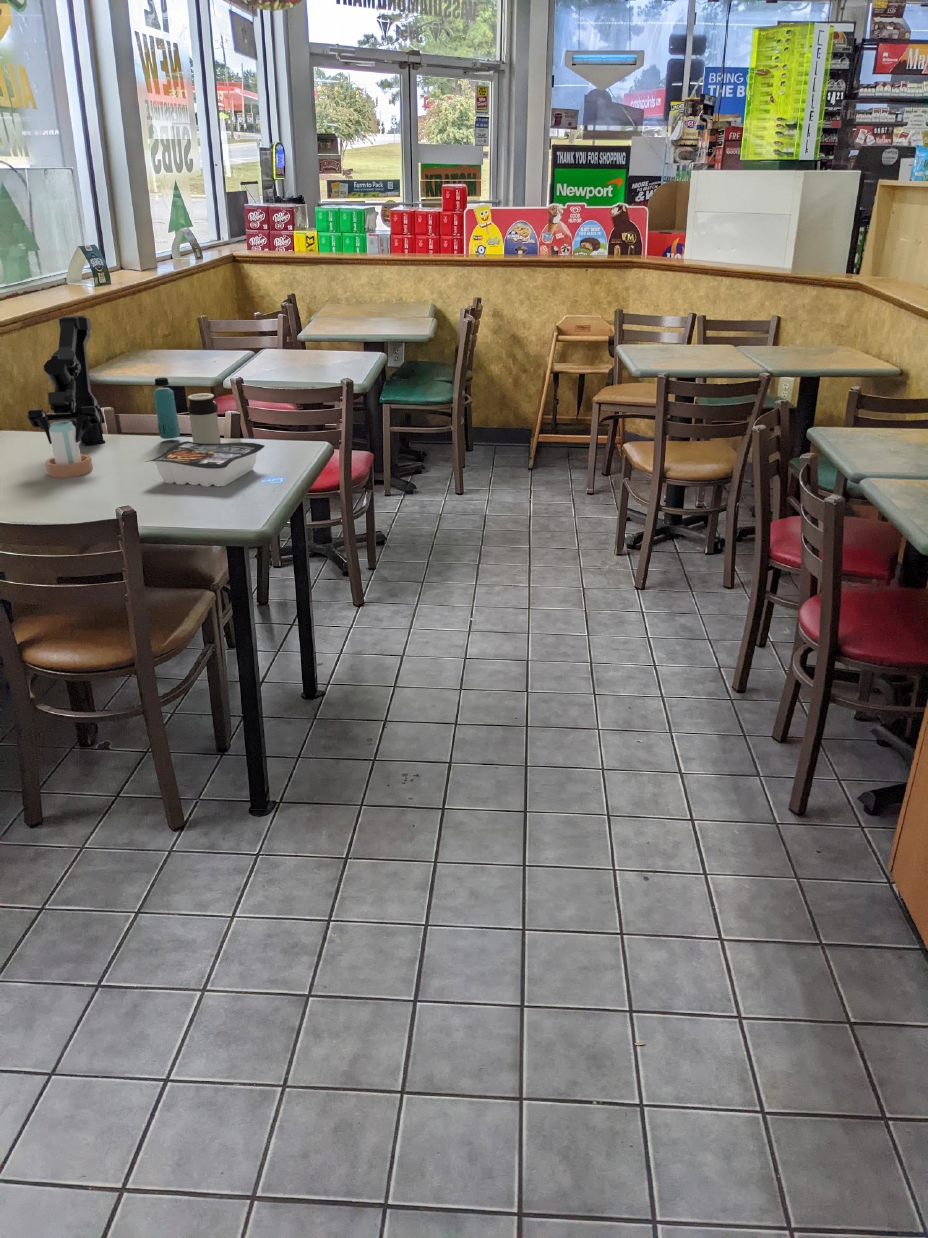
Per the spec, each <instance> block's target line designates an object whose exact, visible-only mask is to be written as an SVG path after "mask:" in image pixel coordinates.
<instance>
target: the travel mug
mask: <svg viewBox="0 0 928 1238" xmlns="http://www.w3.org/2000/svg"><path fill="white" fill-rule="evenodd" d="M214 397H215V395H214V394H213V393H206V392H205V393H201V392H200V393H194V394H190V395H188V396H187V399H188V401H189V406H188V414H189V420H190V421H189V422H190V423H189V424H190V428H191V434H192V435H191V436H192V442H194V443H203V444H218V443H222V442H221V436H220V435H221V434H220V428H219V427H220V426H219V419H218V412H217V411H218V410H217V405H216V404H215V402H214Z"/></svg>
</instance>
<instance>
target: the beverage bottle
mask: <svg viewBox="0 0 928 1238" xmlns="http://www.w3.org/2000/svg"><path fill="white" fill-rule="evenodd" d="M169 385H170V383H169V378H167V377H163V376H162V377H157V378H156V377H155V378H154V386H155V387H160V388H156V389H155V390H154V391H153V393H152V395H153V400H154V407H155V409H154V410H155V412H156V413H155V414H156V418H157V419H156V421H157V428H158V429H157V430H158V434H159V437H160V438H161V439H163V440H169V439H176V438H179V437H180V436H181V433H180V432H181V431H180V427H179V421H178V420H179V419H178V413H177V407H176V400H175V395H174V392H175V391H174V390H172V389H171V388H169V387H165V386H169Z"/></svg>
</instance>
